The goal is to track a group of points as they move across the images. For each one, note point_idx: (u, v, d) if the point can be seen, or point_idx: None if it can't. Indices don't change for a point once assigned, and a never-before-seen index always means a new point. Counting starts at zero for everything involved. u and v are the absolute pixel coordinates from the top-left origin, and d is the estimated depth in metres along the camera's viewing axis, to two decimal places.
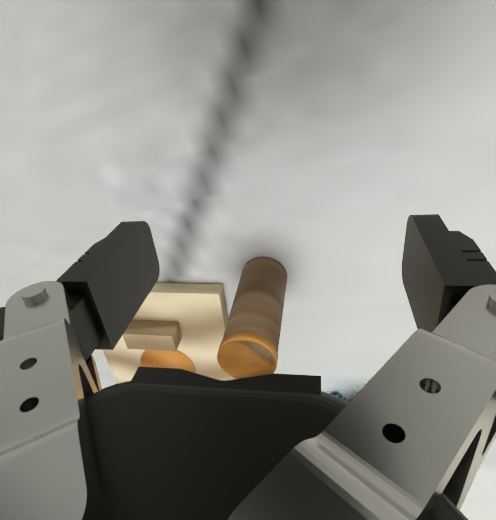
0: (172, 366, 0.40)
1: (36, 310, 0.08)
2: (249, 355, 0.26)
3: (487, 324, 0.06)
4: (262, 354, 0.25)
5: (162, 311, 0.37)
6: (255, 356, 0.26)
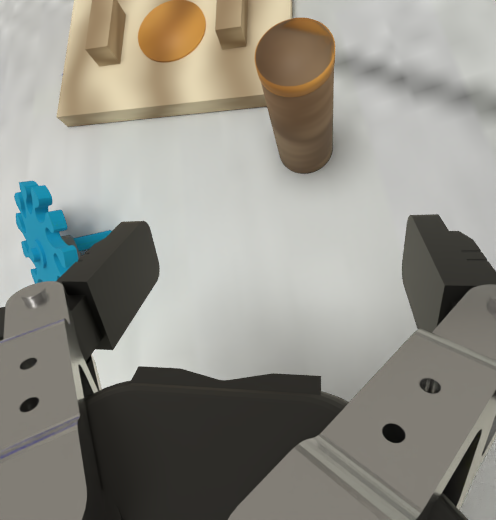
0: (172, 35, 0.32)
1: (37, 310, 0.08)
2: (305, 54, 0.19)
3: (487, 324, 0.06)
4: (309, 70, 0.19)
5: (261, 29, 0.30)
6: (304, 61, 0.19)
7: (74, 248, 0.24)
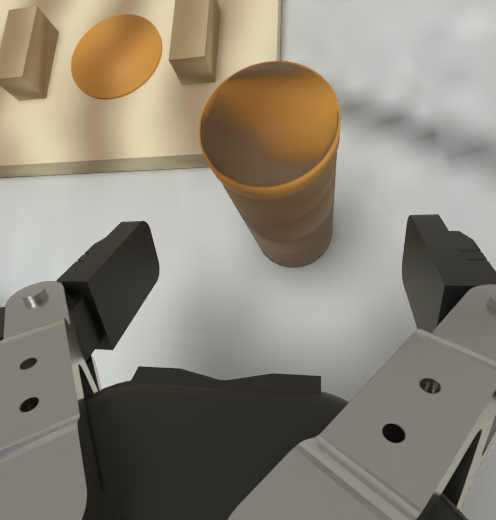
0: (116, 62, 0.23)
1: (36, 310, 0.08)
2: (287, 129, 0.11)
3: (487, 324, 0.06)
4: (293, 158, 0.10)
5: (236, 58, 0.22)
6: (284, 142, 0.11)
7: None
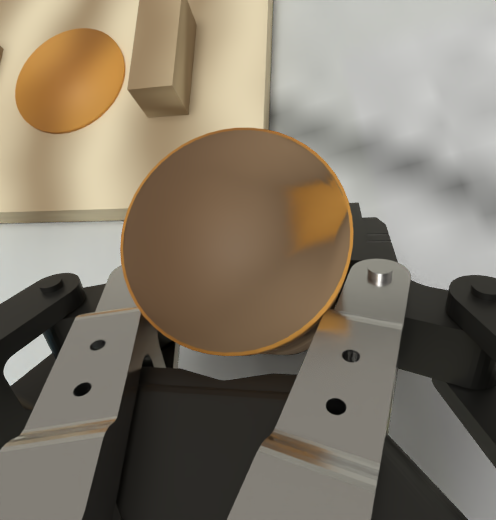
0: (69, 88, 0.19)
1: None
2: (263, 247, 0.06)
3: (359, 289, 0.08)
4: (272, 301, 0.06)
5: (215, 85, 0.18)
6: (259, 270, 0.06)
7: None
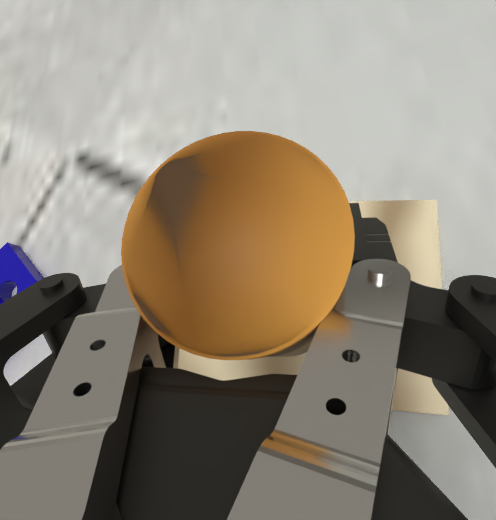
0: None
1: None
2: (264, 251, 0.06)
3: (359, 289, 0.08)
4: (274, 306, 0.06)
5: None
6: (260, 275, 0.06)
7: None
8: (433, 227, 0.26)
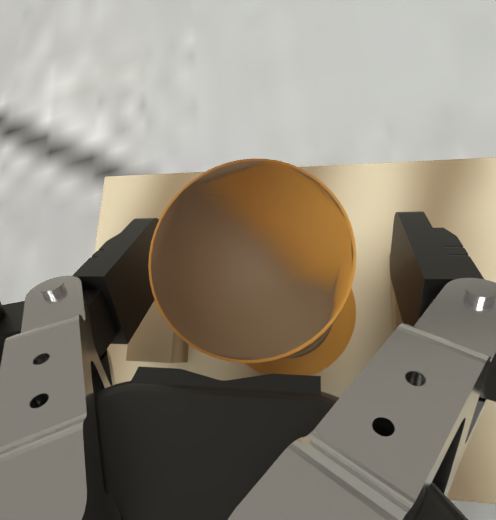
0: None
1: (55, 304, 0.08)
2: (277, 267, 0.07)
3: (462, 315, 0.07)
4: (284, 315, 0.07)
5: None
6: (273, 287, 0.07)
7: None
8: None
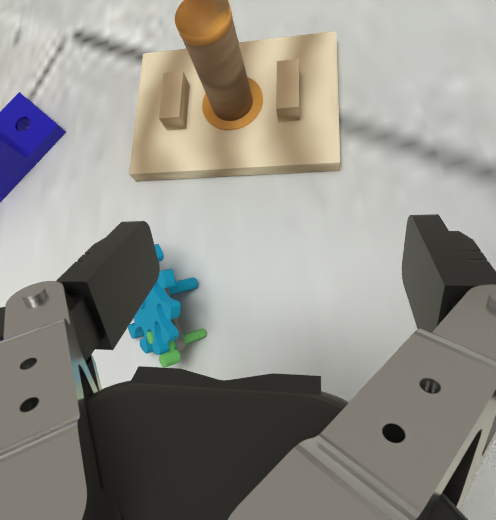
0: None
1: (37, 310, 0.08)
2: (209, 15, 0.27)
3: (487, 324, 0.06)
4: (211, 25, 0.27)
5: (312, 105, 0.35)
6: (208, 20, 0.27)
7: (179, 304, 0.28)
8: (333, 48, 0.37)
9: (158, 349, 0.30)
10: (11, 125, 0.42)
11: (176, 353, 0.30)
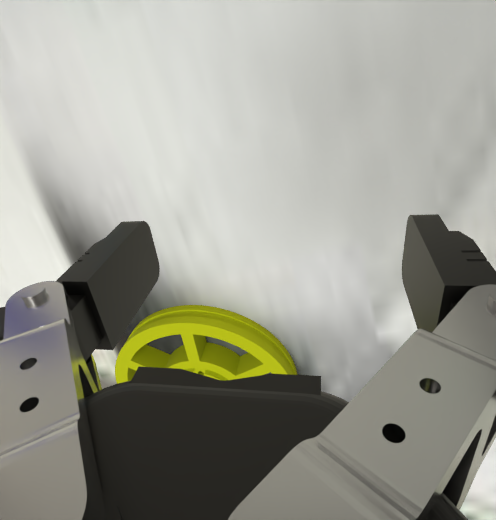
0: None
1: (36, 310, 0.08)
2: None
3: (487, 324, 0.06)
4: None
5: None
6: None
7: None
8: None
9: None
10: None
11: None
